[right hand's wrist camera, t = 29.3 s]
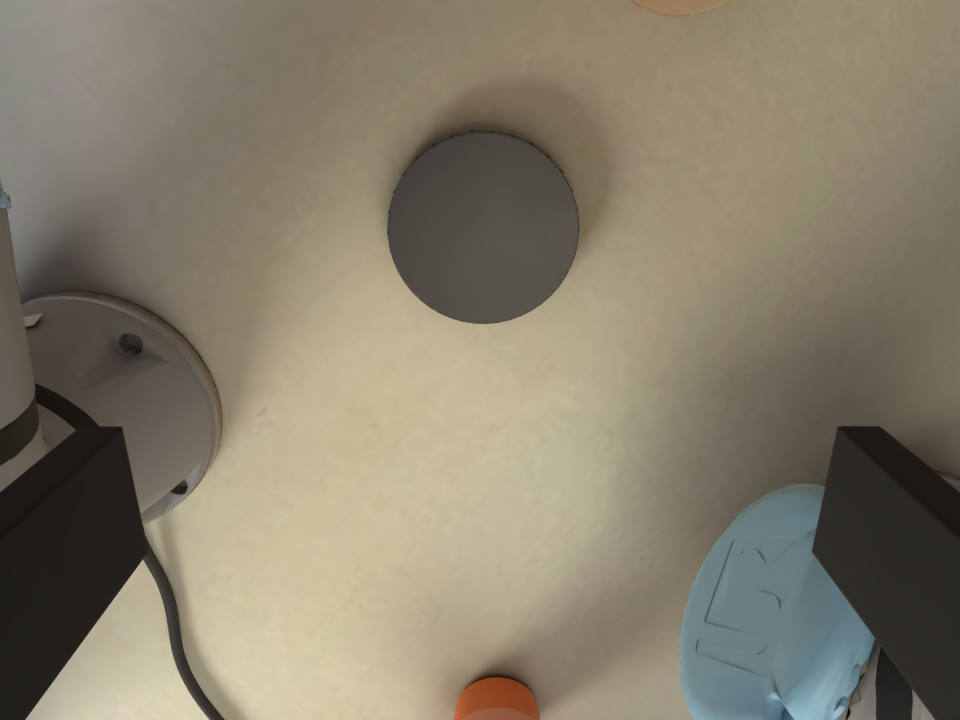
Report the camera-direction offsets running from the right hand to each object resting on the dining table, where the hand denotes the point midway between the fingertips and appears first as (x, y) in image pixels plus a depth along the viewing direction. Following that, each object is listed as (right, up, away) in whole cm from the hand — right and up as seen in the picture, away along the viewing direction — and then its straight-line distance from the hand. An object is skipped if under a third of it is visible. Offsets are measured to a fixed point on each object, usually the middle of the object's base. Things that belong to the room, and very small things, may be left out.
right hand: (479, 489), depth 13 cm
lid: (0, +10, +25) cm, 27 cm away
